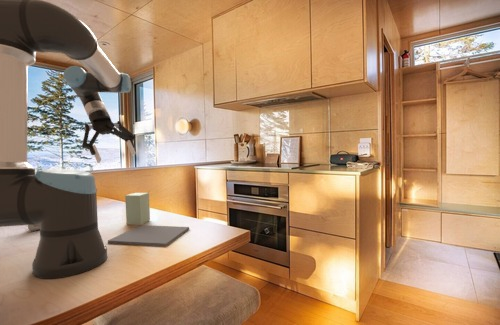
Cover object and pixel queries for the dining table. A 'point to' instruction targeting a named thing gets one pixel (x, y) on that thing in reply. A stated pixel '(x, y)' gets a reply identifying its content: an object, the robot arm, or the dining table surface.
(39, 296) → the dining table surface
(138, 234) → the mat
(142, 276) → the dining table surface
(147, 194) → the sage block
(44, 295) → the dining table surface
